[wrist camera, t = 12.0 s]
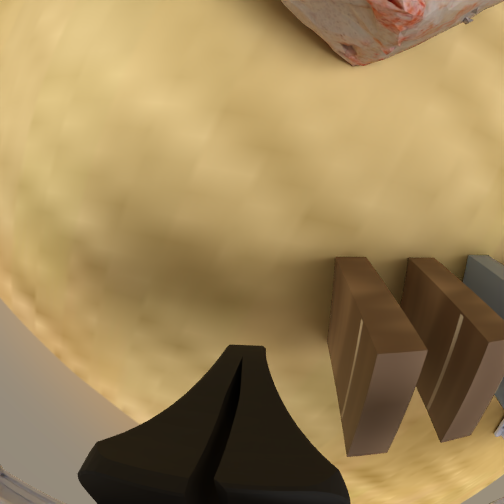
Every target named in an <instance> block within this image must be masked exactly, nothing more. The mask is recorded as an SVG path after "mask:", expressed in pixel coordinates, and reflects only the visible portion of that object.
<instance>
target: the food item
mask: <svg viewBox="0 0 504 504" xmlns="http://www.w3.org/2000/svg"><path fill="white" fill-rule="evenodd" d="M281 1H282V3H283V4H284V5H285V6H286V7H287V8H288V9H289V10H290V11H291V12H292V13H293V14H294V15H295V16H296V17H297V18H298V19H299V20H300V21H301V22H302V23H303V24H304V25H306V26H307V27H309V28H310V29H311V30H313V31H314V32H315V33H316V34H317V35H319V36H320V37H321V38H322V39H323V40H324V41H325V42H327V43H328V44H329V46H330V47H331V48H332V50H333V51H334V52H336V53H337V54H338V55H340V56H341V57H342V58H343V59H345V60H346V61H347V62H349V63H350V64H351V65H352V66H356V65H362V66H365V65H367V64H370V63H373V62H376V61H380V60H383V59H386V58H388V57H391V56H393V55H396V54H398V53H400V52H403V51H405V50H407V49H410V48H412V47H414V46H416V45H418V44H420V43H422V42H424V41H426V40H428V39H430V38H432V37H434V36H436V35H438V34H440V33H442V32H444V31H446V30H448V29H450V28H452V27H454V26H456V25H458V24H460V23H462V22H464V23H465V24H467V23H469V22H471V21H473V20H472V19H470V18H472V17H474V16H475V15H477V14H478V13H480V12H481V11H483V10H485V9H487V8H489V7H492V6H494V5H496V4H498V3H500V2H503V1H504V0H281Z"/></svg>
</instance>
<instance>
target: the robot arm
mask: <svg viewBox="0 0 504 504" xmlns="http://www.w3.org/2000/svg"><path fill="white" fill-rule="evenodd" d="M494 435H495V437H498V436H501V435H502V437H503V439H504V419H503V420H502V422H501V423H500V425H499V427H498V428H497V430H496V431H495V433H494ZM78 479H79V481H80V483H81V484H82V486H83V487H84V488H85V490H86V491H87V492H88V493H89V494H90V496H91V497H92V498H93V499H94V500H95V501H96V502H97V504H350V497H349V494H348V490H347V487H346V485H345V482H344V480H343V478H342V475H341V473H340V471H339V470H338V469H337V468H336V467H335V466H334V465H333V464H331V463H330V462H329V461H328V460H327V459H326V458H325V457H324V456H323V455H322V454H321V453H320V452H319V451H318V450H317V449H316V448H315V447H314V446H313V445H312V444H311V442H310V441H309V440H308V439H307V438H306V436H305V435H304V434H303V433H302V431H301V430H300V429H299V428H298V426H297V425H296V423H295V422H294V420H293V419H292V417H291V416H290V414H289V413H288V411H287V409H286V407H285V406H284V404H283V402H282V400H281V398H280V396H279V394H278V392H277V390H276V387H275V385H274V382H273V380H272V377H271V374H270V371H269V368H268V364H267V360H266V348H264V347H263V346H249V345H229V346H228V347H227V348H226V349H225V351H224V352H223V353H222V355H221V356H220V357H219V359H218V360H217V361H216V362H215V364H214V365H213V366H212V367H211V368H210V370H209V371H208V372H207V373H206V374H205V375H204V376H203V377H202V378H201V380H200V381H198V382H197V383H196V384H195V385H194V386H193V387H192V388H191V389H190V390H189V391H188V392H187V393H186V394H185V395H184V396H183V397H181V398H180V399H179V400H178V401H176V402H175V403H174V404H173V405H171V406H170V407H168V408H167V409H166V410H164V411H163V412H161V413H160V414H158V415H157V416H155V417H153V418H152V419H150V420H148V421H147V422H145V423H143V424H141V425H139V426H137V427H135V428H133V429H130V430H128V431H126V432H124V433H121V434H119V435H116V436H113V437H110V438H107V439H105V440H102V441H98V442H97V443H96V444H95V446H94V447H93V448H92V450H91V451H90V453H89V454H88V456H87V458H86V460H85V462H84V463H83V465H82V467H81V469H80V470H79V472H78ZM0 504H65V503H63V502H61V501H59V500H57V499H55V498H53V497H51V496H49V495H47V494H45V493H43V492H41V491H39V490H37V489H35V488H34V487H32V486H30V485H28V484H27V483H25V482H23V481H21V480H20V479H18V478H16V477H15V476H13V475H11V474H10V473H8V472H7V471H5V470H4V469H3V467H2V466H1V465H0ZM489 504H504V497H502V498H500V499H498V500H496V501H493V502H491V503H489Z"/></svg>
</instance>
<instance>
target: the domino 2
mask: <svg viewBox="0 0 504 504" xmlns="http://www.w3.org/2000/svg"><path fill="white" fill-rule="evenodd" d="M400 307H401V308H402V310H403V311H404V313H405V315H406V316H407V318H408V319H409V321H410V322H411V324H412V325H413V327H414V329H415V330H416V332H417V333H418V335H419V336H420V338H421V340H422V341H423V343H424V345H425V346H426V348H427V349H428V351H427V355H426V358H425V361H424V364H423V367H422V370H421V373H420V375H419V378H418V381H417V384H416V387H417V389H418V391H419V394H420V396H421V398H422V400H423V402H424V405H425V407H426V409H427V412H428V414H429V416H430V418H431V421H432V423H433V426H434V428H435V430H436V433H437V435H438V438H439V440H440V443H442V442H446V441H450V440H454V439H458V438H462V437H465V436H469V435H471V434H472V432H473V431H474V429H475V427H476V426H477V424H478V422H479V421H480V419H481V417H482V416H483V414H484V412H485V410H486V409H487V407H488V405H489V403H490V401H491V399H492V398H493V396H494V394H495V392H496V390H497V388H498V386H499V384H500V382H501V380H502V378H503V376H504V320H503V319H502V318H501V317H500V316H499V315H498V314H497V313H496V312H495V311H494V310H493V309H491V308H490V307H489V306H488V305H487V304H486V303H485V302H484V301H483V300H482V299H481V298H480V297H479V296H477V295H476V294H475V293H474V292H473V291H472V290H471V289H470V288H469V287H467V286H466V285H465V284H464V283H463V282H462V281H461V280H460V279H458V278H457V277H456V276H455V275H454V274H453V273H451V272H450V271H449V270H448V269H447V268H446V267H444V266H443V265H442V264H441V263H440V262H438V261H437V260H436V259H435V258H408V265H407V271H406V278H405V284H404V289H403V295H402V300H401V305H400Z"/></svg>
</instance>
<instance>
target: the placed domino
mask: <svg viewBox="0 0 504 504" xmlns="http://www.w3.org/2000/svg"><path fill="white" fill-rule="evenodd" d="M463 283H464V284H465V285H466V286H467V287H469V288H470V289H471V290H472V291H473V292H474V293H475V294H476V295H477V296H479V297H480V298H481V299H482V300H483V301H484V302H485V303H486V304H487V305H488V306H489V307H490V308H491V309H493V310H494V311H495V312H496V313H497V314H498V315H499V316H500V317H501V318H502V319H503V320H504V265H502V264H501V263H499V262H498V261H496V260H495V259H493V258H492V257H490V256H489V255H468V259H467V264H466V269H465V274H464V278H463ZM494 395H495V396H496V398H497V400H498V401H499V403H500V404H501V406H502V407H503V409H504V376H503V378H502V380H501V382H500V384H499V386H498V388H497V390H496V392H495V394H494Z"/></svg>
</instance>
